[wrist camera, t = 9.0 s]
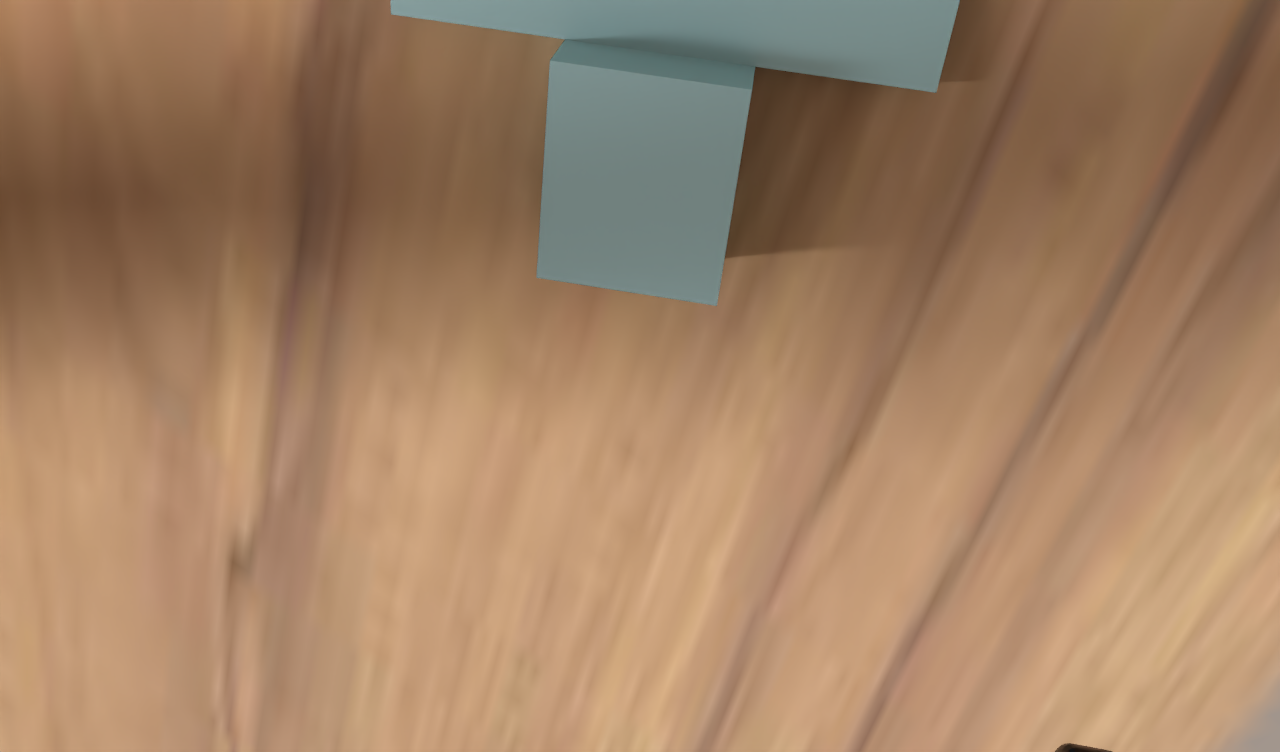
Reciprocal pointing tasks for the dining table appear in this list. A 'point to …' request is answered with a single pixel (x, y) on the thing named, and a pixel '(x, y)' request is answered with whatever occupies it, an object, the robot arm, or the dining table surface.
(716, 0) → the lid
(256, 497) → the dining table surface
